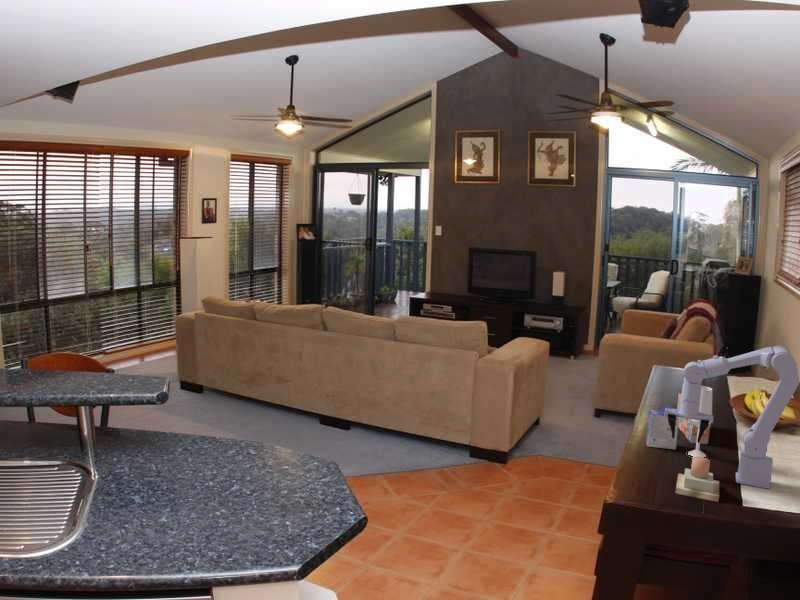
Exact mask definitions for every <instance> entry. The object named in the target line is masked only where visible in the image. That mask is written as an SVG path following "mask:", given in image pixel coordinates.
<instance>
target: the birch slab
mask: <svg viewBox="0 0 800 600" xmlns="http://www.w3.org/2000/svg"><path fill="white" fill-rule="evenodd" d="M684 474H685V473H684ZM684 474H683V473H678V474H677V478H676V479H677V480H676V484H675V485H676V486H675V494H676V493H677V494H676V495H682V496H687V497H690V498H695V499H696V498H697V499H701V500H707V501H712V502H716V503H719V500H720V480H714V479H713V482H714V484H713V492H706V491H701V490H696V489H690V488H685V487H684Z"/></svg>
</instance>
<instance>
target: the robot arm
mask: <svg viewBox="0 0 800 600" xmlns="http://www.w3.org/2000/svg"><path fill="white" fill-rule="evenodd" d="M752 365H760V366H764V367H766V368H769V367H770V365H771V366H772V368H773V369H774V371H775V372H776V373H777V376H778V377H779V381H778V382H777V385H776V386H775V388H774V390H773V392H772V393H771V396H770V397H769V399H768V401H767V403H766V405H765V406H764V408H763V410H762V411H761V413H760V415H759V416H758V418H757V420H756V422H755V423H753V424H752V425H751V427H750V429H749V430H746V431H745V432H744V433H743V435H742V443H743V445H744V446H743V448H741V450H740V453H739V463H738V468H737V469H738V470H737V471H736V472H735V482H736V483H737V484H743V485H747V486H751V487H752V486H753V487H758V488H763V489H770V488H771V482H772V472H773V461H774V460H773V457H772V456H771V457H770V456H767V453H768V444H769V442H770V440H771V435H772V432H773V430H774V429H775V426H776V424H777V423H778V422H779V420H780V418H781V417H782V414H783V413H784V410H785V409H786V407H787V405H788V404H789V402H790V400H792V399H791V398H792V397H793V395H794V393H795V391H796V390H797V388H798V386H799V384H800V375H799V370H798V363H797V362H796V360H795V358H794V357H793V355H792V353H791V352H790V351H789V349H788V348H787V347H785V346H784V345H774V346H772V347H771V346H769V347H768V346H767V347H764V348H759V349H757V350H754V351H753V350H752V351H750V352H747V353H743V354H740V355H739V354H738V355H735V356H732V357H729V358H726V357H724V356H718V355H713V356H712V357H711V358H707V359H704V360H701V359H699V360H698V359H697V362H696V361H690V362H688V363H687V364H686V365H685V366H684V368H683V375H684V378H683V383H682V388H681V403H680V409H677V408H670V407H669V408H665V407H664V408H665V409H664V410H665V414H664V415H666V416H668V421H669V424H670V427H671V431H672V438H673V439H674V437H675V423H676V417H682V418H688V419H695V420H701V421H700V429H699V434H698V441H697V443H700V440H701V437H702V435H703V433H704V431H705V430H706V428H707V427H708V425H709V422H710V423H711V424H713V423H714V415H713V414H712V415H708V414H704V413H700V412H699V406H700V397H701V389H702V387H701V386H702V381H703V380H704V379H706V380H707V379H710V378H714V377H719V376H720V377H721V376H723V375H727V374H728V373H729V372H730V371H731V369H736V368H742V367H746V366H747V367H748V366H752Z"/></svg>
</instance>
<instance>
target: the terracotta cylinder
mask: <svg viewBox="0 0 800 600" xmlns="http://www.w3.org/2000/svg"><path fill="white" fill-rule="evenodd" d="M691 458H692V459H691V466H690V467H691V468H690V469H691V475H692V476H694V477H697V478H708V474H709V473H710V466H711V460H710V459H709V458H708V457H707V458H704V457H691Z"/></svg>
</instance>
